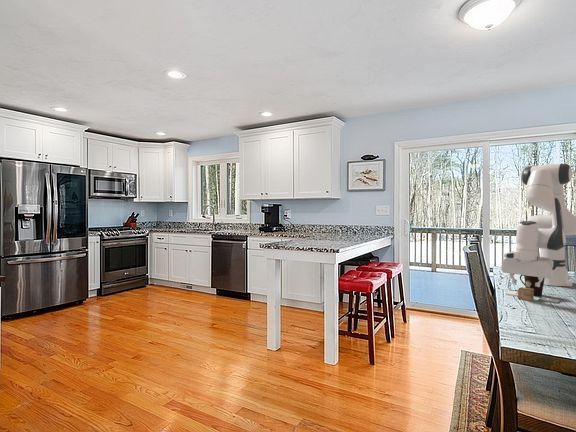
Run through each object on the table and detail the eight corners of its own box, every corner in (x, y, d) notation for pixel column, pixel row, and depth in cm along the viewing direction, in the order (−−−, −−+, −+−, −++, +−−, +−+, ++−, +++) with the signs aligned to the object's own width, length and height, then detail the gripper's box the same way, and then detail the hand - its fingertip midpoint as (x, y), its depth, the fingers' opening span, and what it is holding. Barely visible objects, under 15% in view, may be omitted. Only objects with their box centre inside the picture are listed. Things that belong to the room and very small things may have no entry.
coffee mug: (548, 297, 172) (548, 276, 171) (528, 296, 173) (528, 275, 173) (536, 291, 183) (536, 272, 183) (517, 290, 185) (518, 271, 184)
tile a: (542, 297, 170) (542, 296, 170) (560, 300, 165) (560, 299, 165) (538, 300, 166) (538, 299, 166) (556, 303, 160) (556, 302, 160)
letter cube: (521, 297, 171) (521, 287, 171) (533, 299, 168) (533, 288, 167) (517, 299, 168) (518, 288, 168) (530, 301, 164) (530, 290, 164)
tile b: (510, 292, 181) (510, 291, 181) (526, 295, 176) (527, 293, 176) (506, 294, 176) (506, 293, 176) (522, 297, 171) (522, 296, 171)
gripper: (555, 257, 161) (554, 288, 162) (505, 252, 177) (504, 280, 177) (551, 258, 157) (550, 289, 157) (500, 253, 173) (499, 282, 173)
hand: (525, 284), depth 167 cm, fingers open, 8 cm apart
